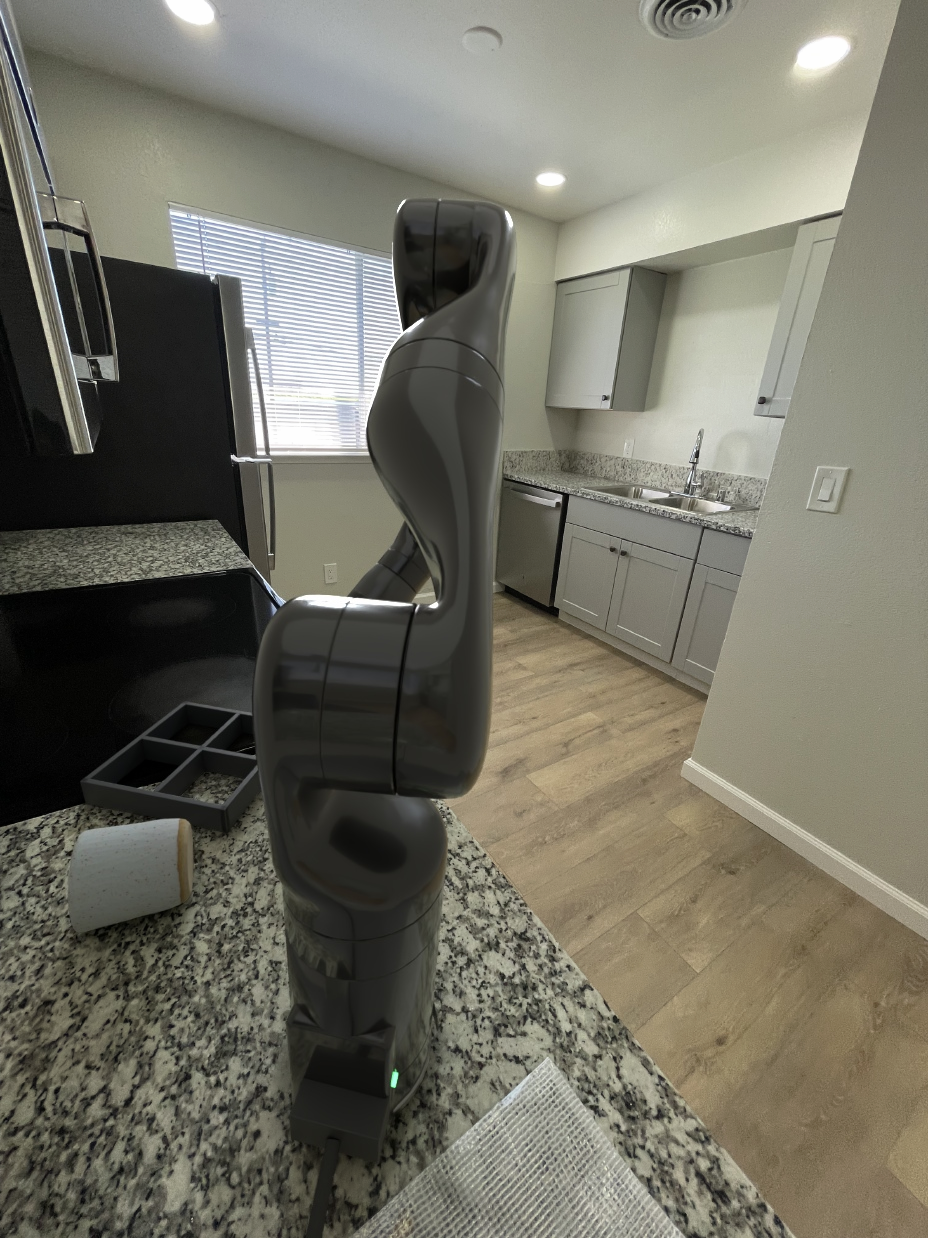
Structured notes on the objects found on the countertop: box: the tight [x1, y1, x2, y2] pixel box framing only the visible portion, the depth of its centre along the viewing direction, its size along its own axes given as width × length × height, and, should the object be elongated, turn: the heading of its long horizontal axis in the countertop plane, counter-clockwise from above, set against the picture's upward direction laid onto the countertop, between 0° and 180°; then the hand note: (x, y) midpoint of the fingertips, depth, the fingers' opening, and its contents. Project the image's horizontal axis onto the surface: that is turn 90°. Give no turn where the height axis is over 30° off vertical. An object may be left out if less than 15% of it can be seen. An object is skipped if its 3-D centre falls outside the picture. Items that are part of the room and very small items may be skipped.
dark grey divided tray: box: [79, 700, 261, 833], centre depth 60 cm, size 16×16×3 cm
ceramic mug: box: [67, 819, 194, 934], centre depth 44 cm, size 11×8×8 cm
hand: (296, 704), depth 67 cm, fingers closed on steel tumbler, 5 cm apart
